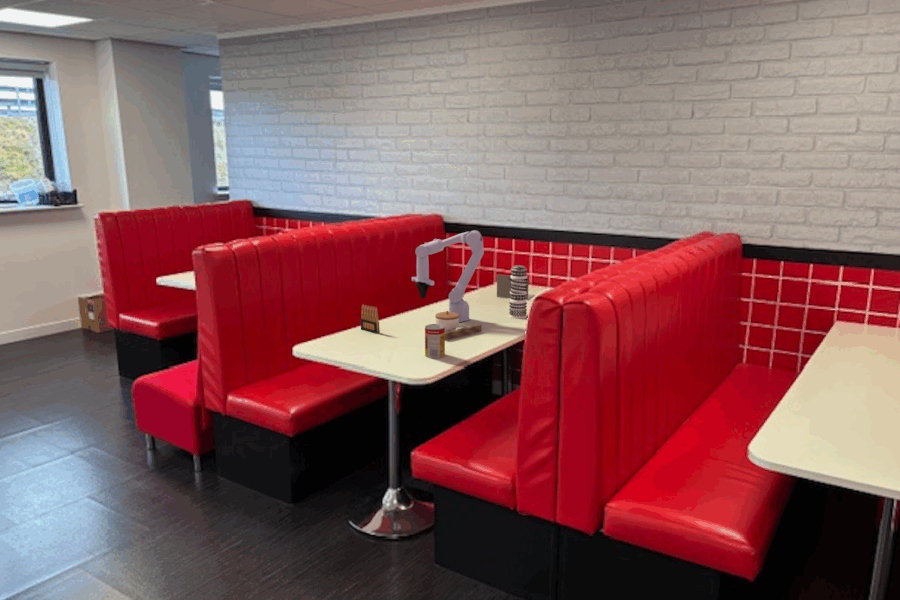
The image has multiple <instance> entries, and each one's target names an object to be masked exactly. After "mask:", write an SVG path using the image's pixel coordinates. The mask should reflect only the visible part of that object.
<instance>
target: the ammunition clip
mask: <svg viewBox="0 0 900 600" xmlns="http://www.w3.org/2000/svg"><path fill="white" fill-rule="evenodd" d="M378 312H379V311H378V307H377V306H372V305H367V304H365V305H364V303H362V305H361V319H360V330H362V331H365V332H368V333H372V334H381V333H380V321H379V313H378Z"/></svg>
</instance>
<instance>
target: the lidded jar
mask: <svg viewBox="0 0 900 600" xmlns="http://www.w3.org/2000/svg"><path fill="white" fill-rule="evenodd" d="M459 323H460V322H459V314H458V313H455V312H449V310H446V311H441V312H437V313H435V324H441V325H444V326H445V332H448V331H452V330H456V329H458V326H459Z"/></svg>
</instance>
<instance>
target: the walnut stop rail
mask: <svg viewBox="0 0 900 600" xmlns="http://www.w3.org/2000/svg"><path fill="white" fill-rule="evenodd" d="M482 327H483V326H482V324H479V323H478V324H474V325H469V326H465V327H461V328H456V329H455V330H452V331H448V332H445V340H446V341H448V340H449V339H450V340H453V338H454V339H457V338H460V337H464V336H468V335H472V334H478V333H482Z"/></svg>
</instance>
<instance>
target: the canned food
mask: <svg viewBox="0 0 900 600" xmlns="http://www.w3.org/2000/svg"><path fill="white" fill-rule="evenodd" d="M445 345H446V341H445V326H444V325H441V324H436V323H431V324H430V323H429V324H426V325H425V326H424V356H425V357H426V358H429V359H441V358H444V357H445V356H446V355H445V354H446V349H445V348H446V346H445Z"/></svg>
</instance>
